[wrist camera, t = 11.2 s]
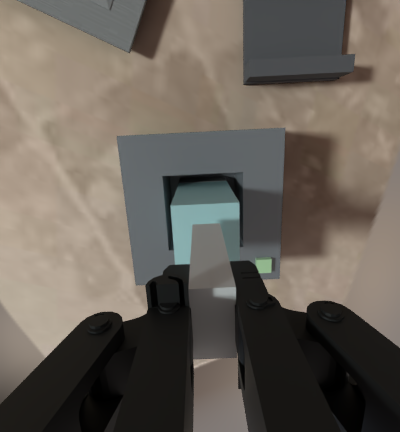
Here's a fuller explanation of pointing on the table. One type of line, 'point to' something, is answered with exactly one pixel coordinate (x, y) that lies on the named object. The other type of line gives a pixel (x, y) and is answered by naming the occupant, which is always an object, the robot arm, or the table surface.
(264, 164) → the port block
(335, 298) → the table surface
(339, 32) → the grey u-channel bracket
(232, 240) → the plug
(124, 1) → the electrical outlet
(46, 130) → the table surface
